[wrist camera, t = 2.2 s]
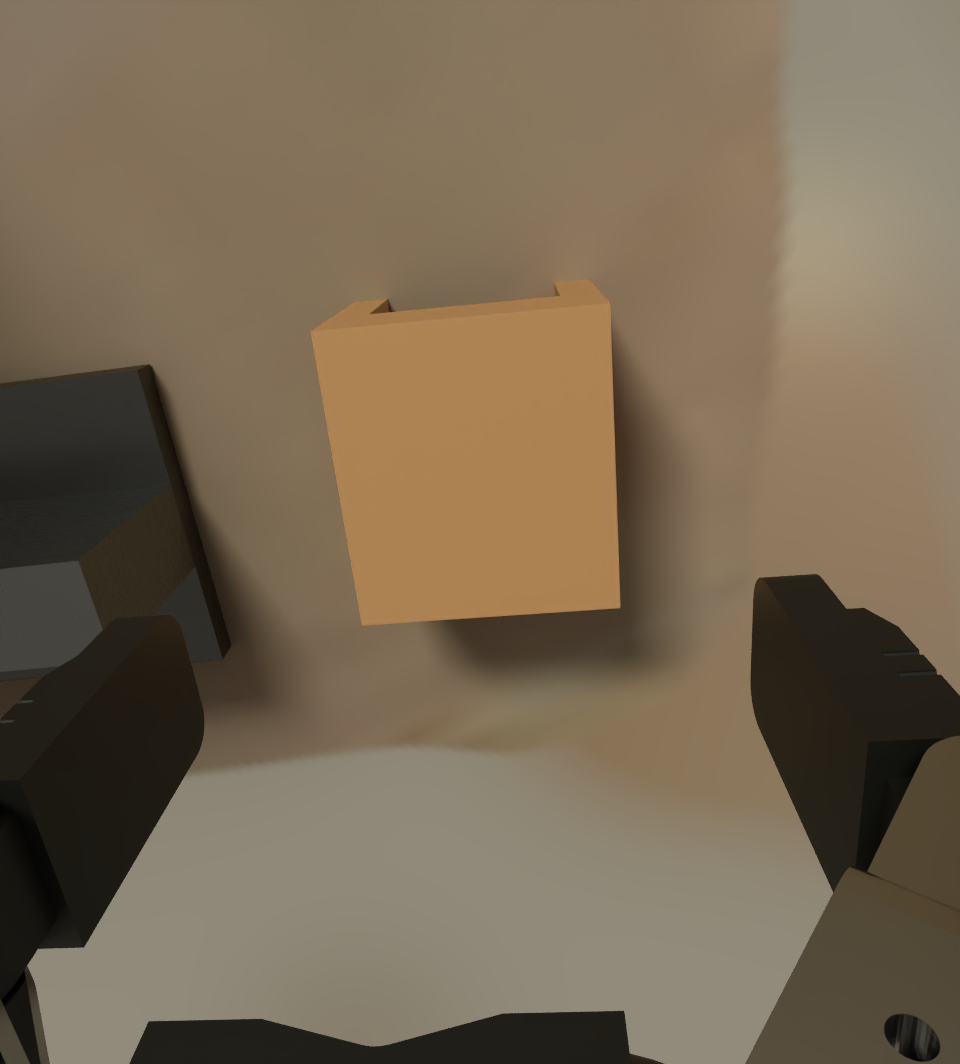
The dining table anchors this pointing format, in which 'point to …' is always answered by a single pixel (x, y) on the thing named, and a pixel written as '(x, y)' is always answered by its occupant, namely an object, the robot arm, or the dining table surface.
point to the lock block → (475, 455)
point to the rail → (104, 456)
